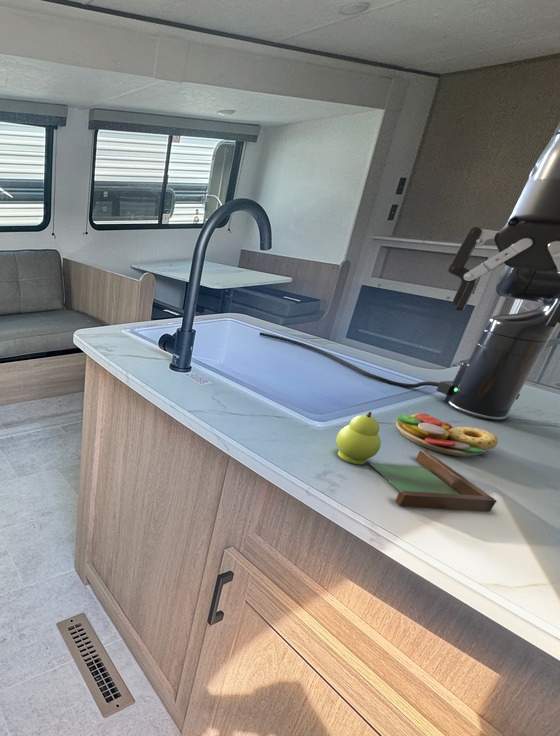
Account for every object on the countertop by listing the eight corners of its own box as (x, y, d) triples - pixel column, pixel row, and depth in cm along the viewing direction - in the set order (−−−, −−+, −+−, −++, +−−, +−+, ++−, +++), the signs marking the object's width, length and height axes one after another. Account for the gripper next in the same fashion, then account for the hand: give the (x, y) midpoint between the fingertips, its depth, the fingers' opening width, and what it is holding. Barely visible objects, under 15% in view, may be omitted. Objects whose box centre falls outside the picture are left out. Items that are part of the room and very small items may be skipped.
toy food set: (501, 453, 76) (510, 438, 75) (460, 468, 71) (469, 451, 70) (418, 418, 87) (424, 404, 86) (378, 429, 82) (384, 414, 81)
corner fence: (345, 455, 73) (349, 445, 72) (421, 459, 73) (426, 450, 72) (399, 506, 61) (405, 495, 61) (490, 511, 61) (497, 500, 60)
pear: (322, 449, 75) (339, 404, 71) (350, 446, 76) (368, 402, 72) (352, 469, 69) (372, 422, 66) (381, 466, 71) (402, 419, 67)
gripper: (668, 187, 47) (582, 330, 53) (492, 182, 56) (437, 304, 62) (683, 177, 42) (586, 335, 48) (488, 173, 51) (428, 306, 57)
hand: (502, 317), depth 55 cm, fingers open, 8 cm apart
